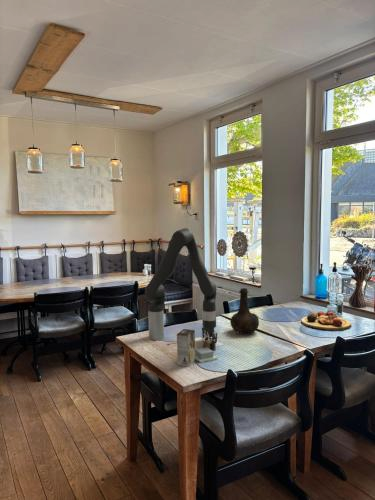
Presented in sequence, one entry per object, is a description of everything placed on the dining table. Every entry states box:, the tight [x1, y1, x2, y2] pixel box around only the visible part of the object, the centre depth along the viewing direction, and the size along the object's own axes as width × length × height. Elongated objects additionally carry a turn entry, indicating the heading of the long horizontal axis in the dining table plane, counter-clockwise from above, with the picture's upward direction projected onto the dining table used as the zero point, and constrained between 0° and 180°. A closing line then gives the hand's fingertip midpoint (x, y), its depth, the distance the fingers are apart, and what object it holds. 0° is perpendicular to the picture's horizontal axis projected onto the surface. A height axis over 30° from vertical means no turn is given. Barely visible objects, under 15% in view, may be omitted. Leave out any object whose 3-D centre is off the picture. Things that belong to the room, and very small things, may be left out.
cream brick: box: [195, 337, 205, 349], centre depth 213 cm, size 5×5×5 cm
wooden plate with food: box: [300, 310, 352, 331], centre depth 256 cm, size 32×32×8 cm
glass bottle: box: [229, 287, 260, 335], centre depth 239 cm, size 18×18×28 cm
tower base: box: [195, 347, 218, 363], centre depth 198 cm, size 10×10×4 cm
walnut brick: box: [203, 339, 217, 352], centre depth 209 cm, size 5×5×5 cm
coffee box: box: [176, 328, 196, 367], centre depth 192 cm, size 9×6×16 cm
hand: (209, 348), depth 209 cm, fingers open, 5 cm apart
